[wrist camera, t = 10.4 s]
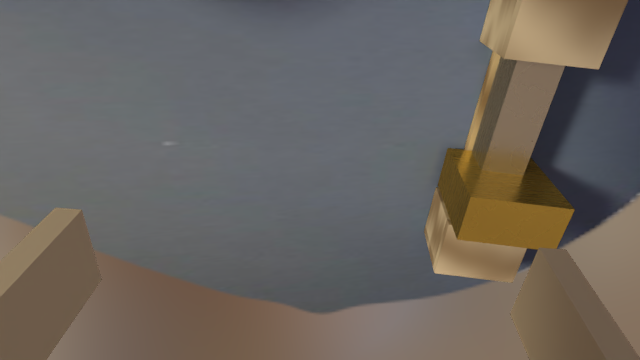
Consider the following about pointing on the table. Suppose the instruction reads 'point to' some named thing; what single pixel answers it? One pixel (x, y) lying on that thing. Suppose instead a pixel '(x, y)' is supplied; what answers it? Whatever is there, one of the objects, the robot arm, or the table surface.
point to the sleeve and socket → (509, 43)
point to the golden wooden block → (507, 166)
